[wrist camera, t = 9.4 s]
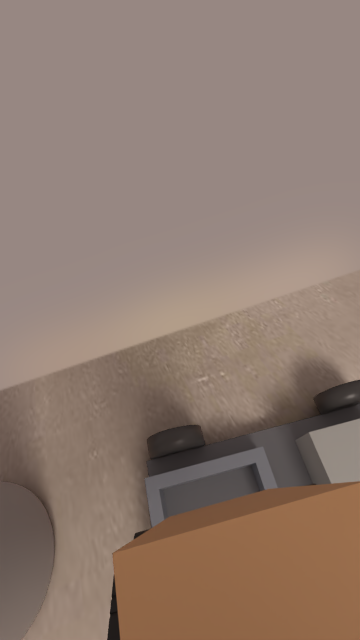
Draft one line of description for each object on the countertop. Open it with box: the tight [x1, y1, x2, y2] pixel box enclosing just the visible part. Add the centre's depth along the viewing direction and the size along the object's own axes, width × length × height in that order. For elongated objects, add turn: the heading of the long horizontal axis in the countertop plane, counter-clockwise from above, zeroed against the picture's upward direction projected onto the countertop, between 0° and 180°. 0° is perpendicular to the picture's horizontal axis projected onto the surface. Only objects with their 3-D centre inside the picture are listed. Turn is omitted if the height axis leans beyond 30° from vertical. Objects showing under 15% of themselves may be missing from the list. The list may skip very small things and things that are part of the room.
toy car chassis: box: [144, 380, 360, 528], centre depth 23 cm, size 22×16×6 cm
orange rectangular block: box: [113, 481, 360, 640], centre depth 8 cm, size 5×5×10 cm
